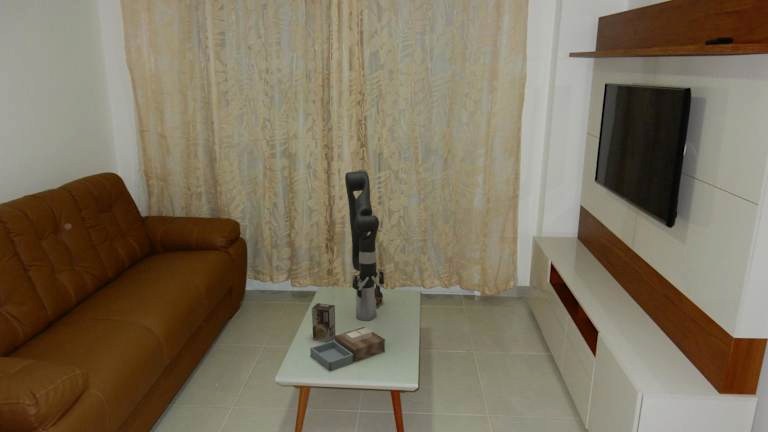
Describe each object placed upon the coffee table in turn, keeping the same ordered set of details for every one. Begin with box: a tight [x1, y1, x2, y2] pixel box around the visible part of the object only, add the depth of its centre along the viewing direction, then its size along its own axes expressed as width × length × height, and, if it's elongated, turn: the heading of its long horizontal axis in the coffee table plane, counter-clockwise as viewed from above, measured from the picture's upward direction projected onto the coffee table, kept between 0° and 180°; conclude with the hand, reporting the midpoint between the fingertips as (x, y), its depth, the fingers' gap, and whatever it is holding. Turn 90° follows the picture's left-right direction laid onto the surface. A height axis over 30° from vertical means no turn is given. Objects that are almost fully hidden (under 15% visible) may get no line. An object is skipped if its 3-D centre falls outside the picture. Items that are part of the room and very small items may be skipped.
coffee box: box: [311, 302, 336, 343], centre depth 261 cm, size 9×6×16 cm
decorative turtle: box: [374, 286, 384, 306], centre depth 303 cm, size 10×15×8 cm, turn 19°
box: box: [309, 339, 355, 372], centre depth 244 cm, size 12×16×4 cm
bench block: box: [334, 326, 386, 363], centre depth 252 cm, size 16×16×6 cm
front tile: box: [346, 331, 362, 343], centre depth 249 cm, size 5×5×2 cm
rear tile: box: [356, 327, 373, 340], centre depth 252 cm, size 5×5×2 cm
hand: (368, 295), depth 250 cm, fingers open, 8 cm apart
